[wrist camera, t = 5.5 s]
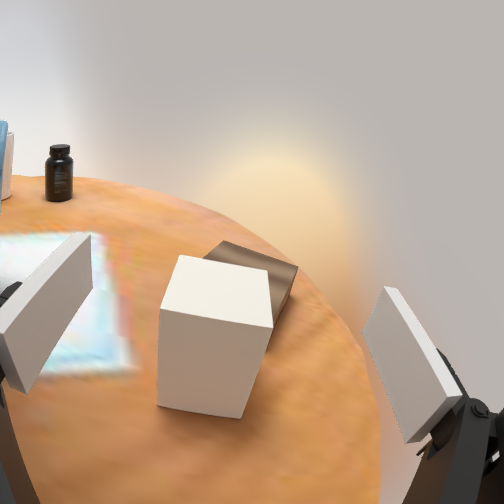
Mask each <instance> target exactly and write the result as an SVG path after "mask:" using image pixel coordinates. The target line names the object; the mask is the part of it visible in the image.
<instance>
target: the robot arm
mask: <svg viewBox="0 0 504 504" xmlns="http://www.w3.org/2000/svg"><path fill="white" fill-rule="evenodd" d="M7 131H8V123H7V122H6V121H1V120H0V214H1V198H2V180H3V167H4V156H5V147H6V139H7ZM92 288H93V285H92V268H91V235H90V234H86V233H81V232H76V231H75V232H74V233H73V234H72V235H71V236H70V237H69V238H68V239H67V240H66V241H65V242H64V243H63V244H61V245H60V246H59V247H58V248H57V249H56V250H55V251H54V252H53V253H52V254H51V255H50V256H49V257H48V258H47V259H46V260H45V261H44V262H43V263H42V264H41V265H40V266H39V267H38V268H37V269H36V270H35V271H34V272H33V273H32V274H31V275H30V276H29V277H28V278H27V279H26V280H25V282H24V283H22V282H16V283H14V284H12V285H10V286H9V287H7V288H6V289H5V290H4V291H3V292H2V293H1V294H0V504H40V502H39V499H38V497H37V495H36V493H35V490H34V488H33V485H32V483H31V481H30V478H29V475H28V473H27V470H26V467H25V465H24V462H23V459H22V456H21V453H20V450H19V447H18V444H17V441H16V438H15V434H14V431H13V427H12V424H11V420H10V416H9V412H8V408H7V404H6V400H5V395H4V391H3V388H2V385H1V382H2V380H3V379H4V377H6V379H7V381H8V384H9V386H10V387H11V388H13V389H15V390H18V391H20V392H22V393H24V394H27V395H28V393H29V391H30V389H31V387H32V385H33V383H34V382H35V380H36V378H37V376H38V374H39V373H40V371H41V369H42V367H43V366H44V364H45V362H46V361H47V359H48V357H49V355H50V354H51V352H52V350H53V349H54V347H55V345H56V344H57V342H58V340H59V339H60V337H61V336H62V334H63V332H64V331H65V329H66V328H67V326H68V324H69V323H70V321H71V320H72V318H73V317H74V315H75V314H76V312H77V311H78V309H79V307H80V306H81V304H82V303H83V301H84V300H85V299H86V297H87V296H88V294H89V293H90V291H91V290H92ZM362 334H363V337H364V339H365V341H366V344H367V346H368V349H369V351H370V353H371V356H372V358H373V361H374V363H375V366H376V368H377V370H378V373H379V375H380V378H381V380H382V383H383V385H384V388H385V391H386V393H387V396H388V398H389V401H390V404H391V406H392V409H393V411H394V414H395V417H396V419H397V422H398V425H399V428H400V430H401V433H402V436H403V439H404V441H405V444H406V443H413V442H420V441H421V440H422V439H423V438H424V437H425V436H426V435H427V434H428V433H429V432H430V434H431V436H432V439H431V440H430V441H429V442H428V443H427V444H426V445H425V446H424V447H423V448H422V449H421V450H420V451H419V452H418V453H417V454H416V455H417V456H419V455H420V454H421V453H422V452H424V451H425V452H424V454H423V456H422V459H421V462H420V465H419V467H418V470H417V472H416V474H415V477H414V479H413V481H412V484H411V486H410V488H409V490H408V492H407V495H406V497H405V499H404V501H403V503H402V504H504V408H503V410H502V411H501V412H500V413H499V414H497V413H492V412H490V411H489V409H488V407H487V406H486V405H485V404H484V403H483V402H482V401H480V400H478V399H475V398H469V396H468V394H467V393H466V391H465V389H464V387H463V385H462V384H461V382H460V380H459V378H458V377H457V375H456V374H455V371H454V370H453V368H452V367H451V365H450V363H449V362H448V360H447V358H446V357H445V356H444V355H443V354H442V353H441V352H440V351H439V350H438V349H437V348H435V346H434V345H433V343H432V342H431V340H430V338H429V337H428V335H427V334H426V332H425V330H424V329H423V327H422V326H421V324H420V323H419V321H418V319H417V318H416V317H415V315H414V313H413V312H412V310H411V309H410V307H409V306H408V304H407V303H406V301H405V300H404V298H403V297H402V295H401V294H400V293H399V291H398V290H397V288H391V287H385V286H384V287H383V289H382V291H381V293H380V295H379V297H378V300H377V302H376V304H375V306H374V308H373V310H372V312H371V314H370V317H369V318H368V320H367V322H366V325H365V327H364V329H363V331H362ZM498 451H499V455H500V457H499V458H497V459H496V460H495V461H494V462H493V460H492V456H493V455H494V454H496V453H497V452H498Z"/></svg>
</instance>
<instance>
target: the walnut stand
mask: <svg viewBox="0 0 504 504" xmlns="http://www.w3.org/2000/svg"><path fill="white" fill-rule="evenodd" d="M203 259H206V260H212V261H217V262H222V263H228V264H233V265H239V266H244V267H250V268H255V269H261V270H266V271H267V274H268V283H269V292H270V301H271V310H272V319H273V328H274V326H275V324H276V322H277V319H278V317H279V315H280V313H281V311H282V309H283V307H284V305H285V303H286V300H287V298H288V296H289V294H290V291H291V288H292V285H293V282H294V279H295V276H296V273H297V269H298V266H295V265H292V264H289V263H286V262H283V261H281V260H278V259H275V258H272V257H269V256H266V255H264V254H261V253H258V252H255V251H252V250H249V249H247V248H244V247H241V246H238V245H235V244H232V243H230V242H227V241H223V242H221V243H220V244H219V245H218V246H217V247H215V248H214V249H213V250H212V251H211V252H210V253H208V254H207V255H206V256H205V257H204V258H203Z"/></svg>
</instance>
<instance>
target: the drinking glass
mask: <svg viewBox="0 0 504 504" xmlns="http://www.w3.org/2000/svg"><path fill="white" fill-rule="evenodd" d="M13 146H14V134H13V132H7V139H6V147H5V156H4V167H3V180H2V198H1V200H4V199H7V198H8V197H10V196H11V176H12V160H13Z"/></svg>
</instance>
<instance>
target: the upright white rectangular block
mask: <svg viewBox="0 0 504 504" xmlns="http://www.w3.org/2000/svg"><path fill="white" fill-rule="evenodd" d="M272 331H273V319H272V310H271V301H270V292H269V283H268V274H267V271H266V270H261V269H255V268H250V267H244V266H239V265H233V264H228V263H222V262H217V261H212V260H206V259H201V258H196V257H190V256H185V255H180V256H179V258H178V261H177V264H176V266H175V269H174V272H173V274H172V277H171V280H170V282H169V285H168V288H167V290H166V293H165V296H164V299H163V301H162V304H161V307H160V317H159V336H158V366H157V405H158V406H162V407H167V408H172V409H178V410H183V411H189V412H195V413H201V414H208V415H214V416H222V417H229V418H238V419H241V417H242V415H243V412H244V409H245V407H246V404H247V401H248V398H249V396H250V393H251V390H252V388H253V385H254V382H255V379H256V376H257V374H258V371H259V368H260V365H261V362H262V360H263V357H264V354H265V351H266V348H267V345H268V342H269V339H270V337H271V334H272Z"/></svg>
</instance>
